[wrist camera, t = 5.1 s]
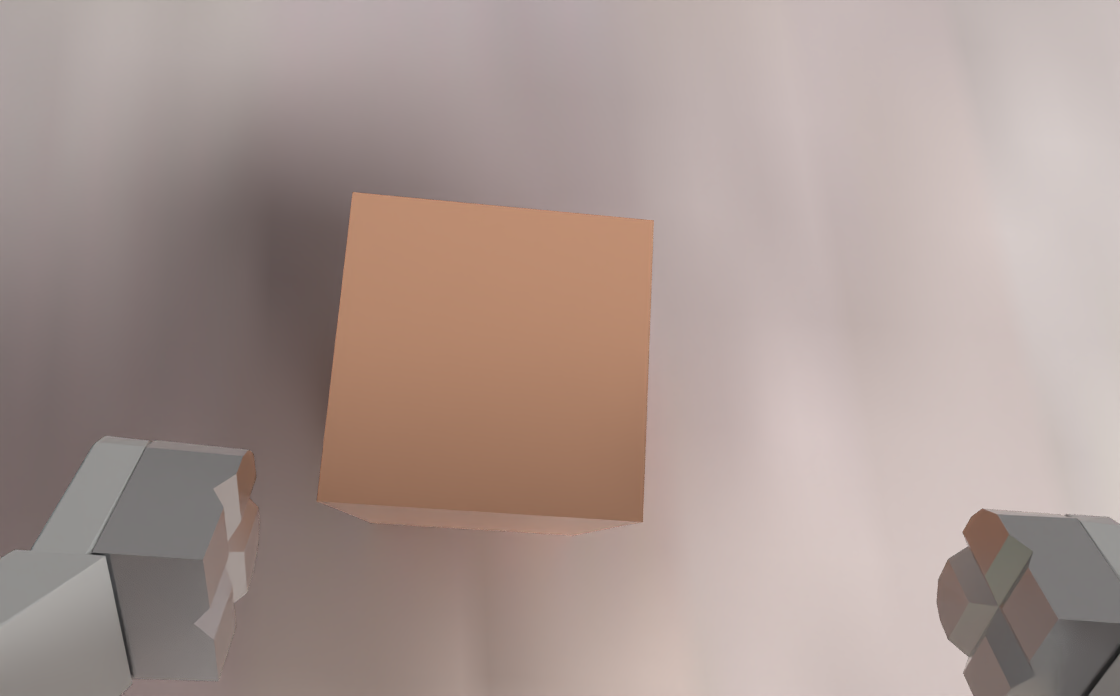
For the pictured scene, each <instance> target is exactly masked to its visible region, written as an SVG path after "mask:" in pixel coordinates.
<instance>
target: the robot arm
mask: <svg viewBox="0 0 1120 696" xmlns="http://www.w3.org/2000/svg"><path fill="white" fill-rule="evenodd" d="M255 480H256V470H255V461H254V454H253V453H252V452H251V451H250V450H247V449H238V448H228V447H219V446H209V445H199V444H190V443H180V442H170V441H161V440H154V441H149V440H141V439H131V438H122V437H113V436H104V437H103V438H102V439H100V440H99V441H97V442H96V443H95V444H94V445H93V446H92V448H91V449H90V451H89V453H88V454H87V456H86V458H85V459H84V461H83V463H82V464H81V466H80V468H79V469H78V471H77V473H76V474H75V476H74V478H73V479H72V481H71V483H70V484H69V486H68V488H67V490H66V491H65V493H64V495H63V496H62V498H61V500H60V501H59V503H58V505H57V506H56V508H55V510H54V511H53V513H52V515H51V516H50V518H49V520H48V521H47V523H46V525H45V526H44V528H43V530H42V531H41V533H40V535H39V536H38V538H37V540H36V542H35V543H34V545H33V547H32V548H31V550H13V551H11V552H10V553H8V554H6V555H5V556H3V557H1V558H0V696H120V695H121V694H122V693H123V692H124V691H125V690H126V689H127V688H129V687H130V686H131V685H132V679H156V680H190V681H219V679H220V676H221V673H222V670H223V667H224V663H225V660H226V657H227V654H228V651H229V648H230V645H231V642H232V639H233V636H234V633H235V630H236V619H235V608H234V603H235V602H236V601H238V600H239V599H240V598H242V597H243V596H244V595H245V594H247V592H248V589H249V586H250V582H251V579H252V576H253V572H254V568H255V562H256V556H257V551H258V545H259V526H260V523H259V507H258V506H257V505H256V504H255V503H254V502H253V501H252V500H251V499H250V498H249V497H250V494H251V491H252V488H253V485H254V483H255ZM963 535H964V537H965V540H966V543H967V545H968V547H966V548H965V549H963V550H962V551H960V552H958V553H957V554H955V555H954V556H952V557H951V558H949V559H948V560H947V562H946V564H945V567H944V569H943V571H942V573H941V575H940V577H939V579H938V590H937V607H938V612H939V617H940V621H941V624H942V626H943V628H944V631H945V633H946V636H947V638H948V640H949V641H951V642H952V643H953V644H954V645H955V646H956V647H958V648H959V649H960V650H961V651H962V652H963V653H964V654H966V655H967V656H968V660H967V663H966V666H965V669H964V672H963V674H964V676H965V678H966V681H967V683H968V685H969V687H970V689H971V692H972V694H973V696H1120V524H1119V523H1117V522H1116V521H1114V520H1113V519H1111V518H1110V517H1101V516H1086V515H1071V514H1066V515H1060V514H1050V513H1036V512H1022V511H1008V510H994V509H981V510H980V511H978V512H977V513H976V514H974V515H973V516H972V517H971V518H970V520H969V522H968V524H967V525H966V527H965V529H964V531H963Z"/></svg>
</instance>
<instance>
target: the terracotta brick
mask: <svg viewBox="0 0 1120 696" xmlns="http://www.w3.org/2000/svg"><path fill="white" fill-rule="evenodd" d="M653 226H654V220H643V219H633V218H622V217H611V216H601V215H590V214H579V213H569V212H558V211H548V210H537V209H526V208H516V207H505V206H495V205H484V204H473V203H463V202H452V201H441V200H431V199H420V198H410V197H399V196H388V195H378V194H367V193H356V192H353V193H352V201H351V210H350V219H349V227H348V236H347V244H346V253H345V262H344V270H343V279H342V287H341V296H340V305H339V313H338V322H337V330H336V339H335V348H334V356H333V365H332V373H331V382H330V391H329V399H328V408H327V416H326V425H325V433H324V442H323V451H322V459H321V468H320V476H319V485H318V494H317V502H319V503H322V504H324V505H327V506H329V507H332V508H334V509H337V510H339V511H342V512H344V513H347V514H349V515H352V516H354V517H357V518H359V519H362V520H364V521H367V522H369V523H378V524H394V525H410V526H426V527H443V528H459V529H475V530H491V531H507V532H523V533H540V534H556V535H572V536H574V535H579V534H584V533H590V532H595V531H600V530H605V529H610V528H615V527H620V526H626V525H631V524H636V523H641V522H643V502H644V474H645V447H646V419H647V392H648V364H649V336H650V309H651V281H652V254H653Z"/></svg>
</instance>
